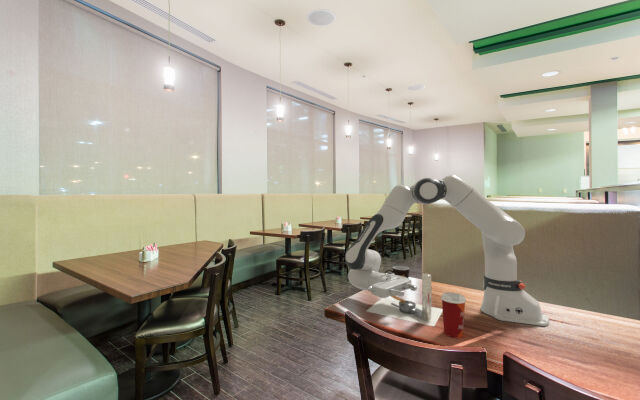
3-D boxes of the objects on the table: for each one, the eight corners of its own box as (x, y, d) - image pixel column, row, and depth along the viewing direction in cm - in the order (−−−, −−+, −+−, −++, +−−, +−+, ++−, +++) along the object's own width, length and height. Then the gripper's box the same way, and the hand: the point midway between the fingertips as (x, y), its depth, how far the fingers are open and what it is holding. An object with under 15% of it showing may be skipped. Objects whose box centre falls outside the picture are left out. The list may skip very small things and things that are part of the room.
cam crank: (386, 304, 122) (386, 265, 122) (397, 301, 125) (397, 263, 125) (423, 322, 104) (423, 276, 104) (436, 319, 107) (436, 274, 107)
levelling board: (443, 312, 118) (443, 308, 118) (434, 329, 102) (434, 325, 102) (382, 300, 132) (382, 296, 132) (365, 314, 116) (365, 310, 116)
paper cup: (469, 343, 92) (469, 300, 92) (443, 341, 94) (443, 298, 93) (462, 332, 100) (462, 292, 100) (438, 330, 101) (438, 290, 101)
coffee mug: (411, 286, 153) (411, 267, 153) (406, 290, 146) (406, 270, 146) (390, 282, 159) (390, 264, 159) (384, 286, 152) (384, 267, 152)
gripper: (364, 281, 116) (394, 288, 105) (393, 272, 129) (422, 278, 119) (364, 296, 116) (394, 306, 105) (393, 286, 129) (422, 293, 119)
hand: (409, 291), depth 112 cm, fingers open, 8 cm apart
